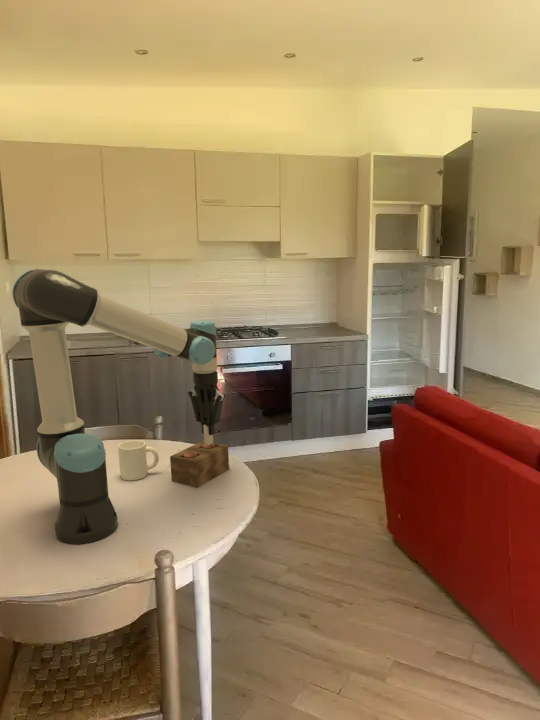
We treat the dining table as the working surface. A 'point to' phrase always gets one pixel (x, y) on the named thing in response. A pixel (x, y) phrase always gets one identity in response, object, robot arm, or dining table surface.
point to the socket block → (199, 464)
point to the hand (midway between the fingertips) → (208, 443)
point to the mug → (135, 459)
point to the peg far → (208, 446)
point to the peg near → (190, 455)
